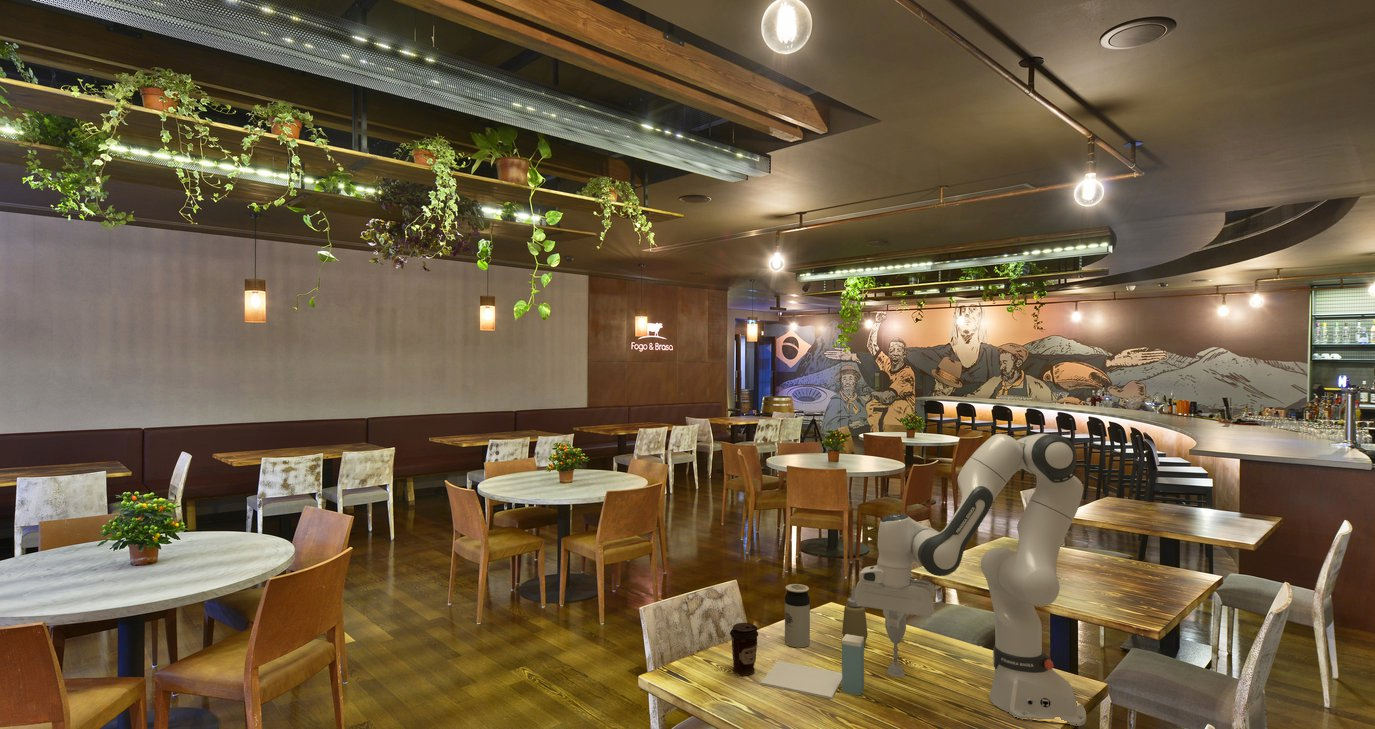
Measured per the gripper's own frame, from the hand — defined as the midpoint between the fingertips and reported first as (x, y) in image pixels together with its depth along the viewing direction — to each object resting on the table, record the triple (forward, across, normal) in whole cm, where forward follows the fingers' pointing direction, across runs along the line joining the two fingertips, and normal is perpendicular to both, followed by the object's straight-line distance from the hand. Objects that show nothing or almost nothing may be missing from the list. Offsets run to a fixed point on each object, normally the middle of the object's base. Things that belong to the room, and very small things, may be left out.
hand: (893, 627), depth 182 cm
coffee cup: (+20, +41, +2) cm, 46 cm away
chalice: (+19, +1, -16) cm, 25 cm away
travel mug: (+19, +33, -25) cm, 46 cm away
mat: (+19, +24, 0) cm, 31 cm away
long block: (+19, +10, 0) cm, 22 cm away
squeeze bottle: (+19, +16, -32) cm, 41 cm away
